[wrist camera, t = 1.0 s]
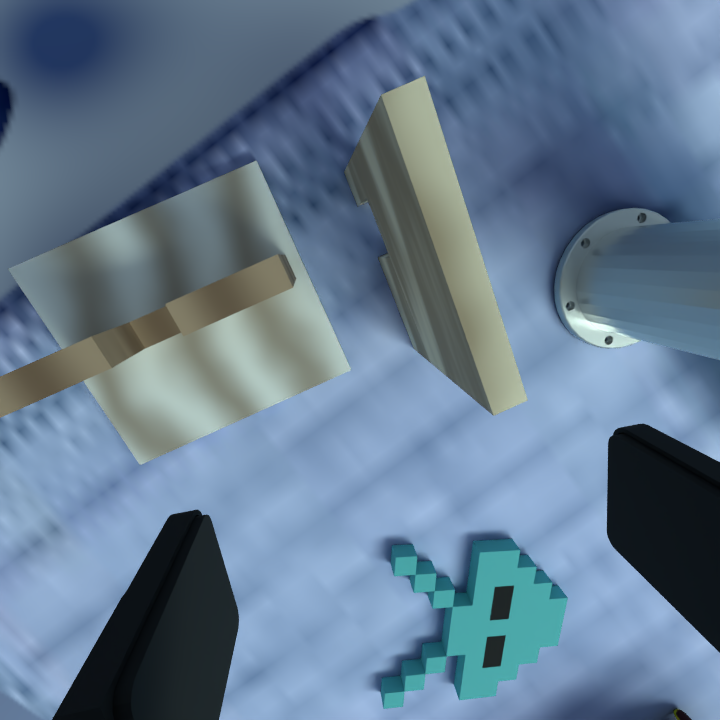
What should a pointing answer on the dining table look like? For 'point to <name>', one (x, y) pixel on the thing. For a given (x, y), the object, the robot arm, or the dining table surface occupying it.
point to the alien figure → (480, 620)
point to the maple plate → (432, 247)
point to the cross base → (167, 274)
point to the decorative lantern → (681, 715)
